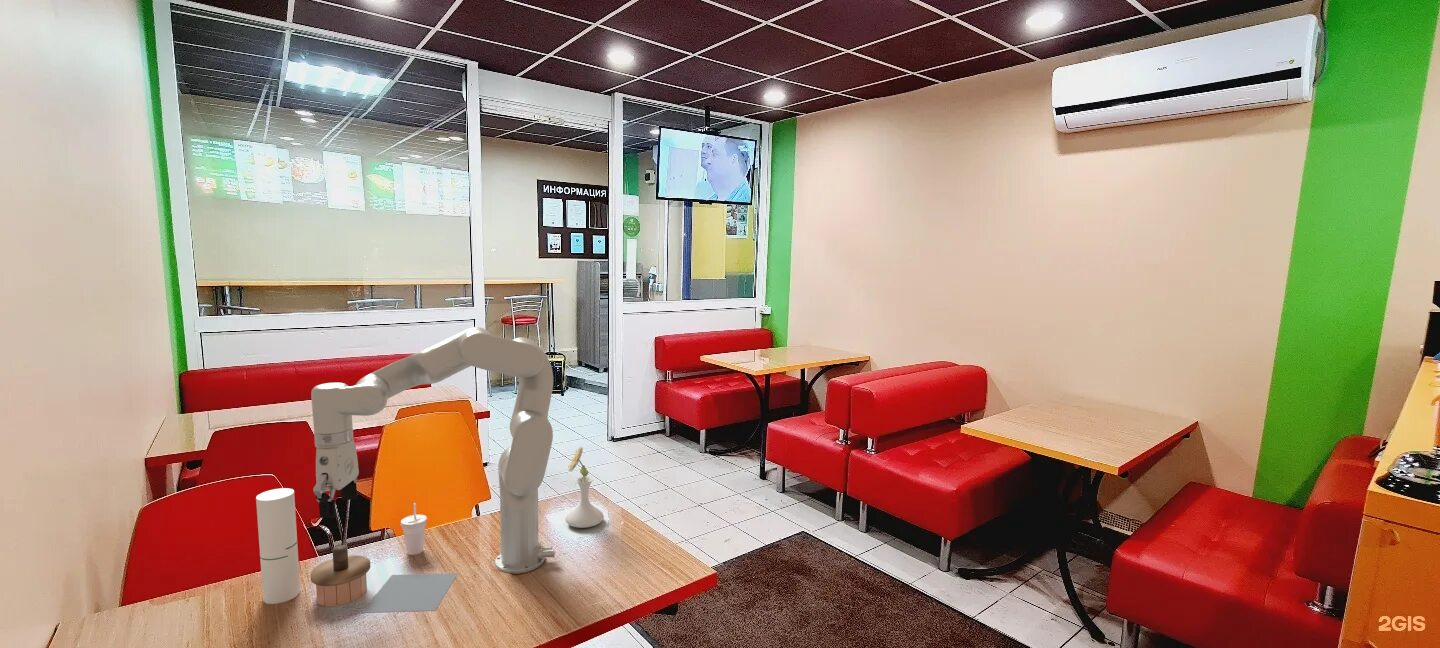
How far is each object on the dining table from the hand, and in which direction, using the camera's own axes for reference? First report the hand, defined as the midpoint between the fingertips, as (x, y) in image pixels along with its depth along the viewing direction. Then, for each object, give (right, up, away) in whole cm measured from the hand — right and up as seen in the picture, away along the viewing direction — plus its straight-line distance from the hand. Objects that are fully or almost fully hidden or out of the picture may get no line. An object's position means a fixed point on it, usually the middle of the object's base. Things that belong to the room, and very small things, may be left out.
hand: (339, 508), depth 143 cm
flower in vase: (+47, -18, +43) cm, 67 cm away
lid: (-1, -16, +2) cm, 16 cm away
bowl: (-1, -22, +3) cm, 22 cm away
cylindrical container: (-15, -22, +2) cm, 26 cm away
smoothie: (+6, -19, +23) cm, 31 cm away
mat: (+15, -22, +4) cm, 27 cm away
